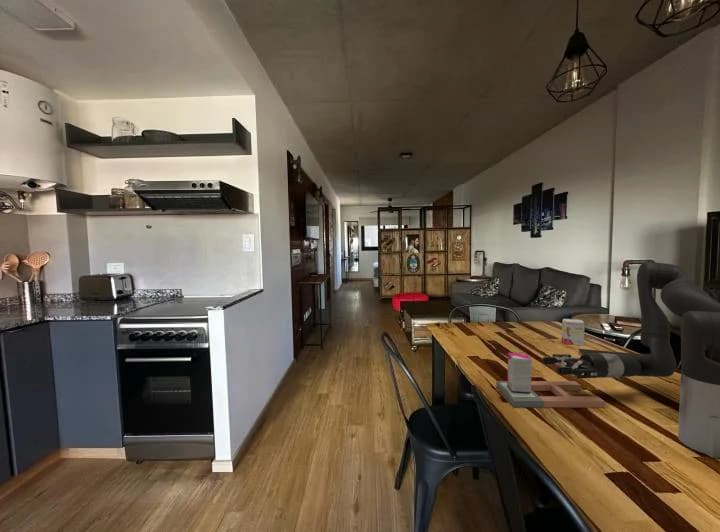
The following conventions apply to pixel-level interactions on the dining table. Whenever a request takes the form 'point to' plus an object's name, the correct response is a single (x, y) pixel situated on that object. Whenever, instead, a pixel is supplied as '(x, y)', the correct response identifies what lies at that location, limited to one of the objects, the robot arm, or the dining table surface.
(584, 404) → the board
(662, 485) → the dining table surface
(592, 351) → the hardcover book
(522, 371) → the supplement box
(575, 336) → the ink box
